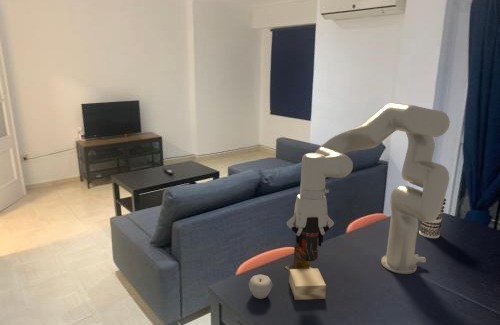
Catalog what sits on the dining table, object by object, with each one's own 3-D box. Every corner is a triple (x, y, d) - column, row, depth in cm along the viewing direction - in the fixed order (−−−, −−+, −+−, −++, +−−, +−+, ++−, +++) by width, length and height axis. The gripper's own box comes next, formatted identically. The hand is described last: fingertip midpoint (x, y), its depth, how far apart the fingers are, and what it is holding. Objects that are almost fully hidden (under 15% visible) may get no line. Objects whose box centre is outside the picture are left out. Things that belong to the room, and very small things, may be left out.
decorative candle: (415, 228, 167) (422, 178, 161) (436, 230, 166) (444, 179, 159) (421, 237, 158) (429, 184, 152) (443, 239, 157) (452, 185, 151)
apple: (248, 287, 121) (248, 270, 119) (271, 288, 121) (272, 271, 119) (247, 303, 113) (248, 285, 112) (272, 303, 113) (273, 285, 111)
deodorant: (318, 261, 114) (321, 218, 110) (300, 261, 114) (302, 218, 110) (315, 252, 120) (318, 211, 116) (298, 251, 120) (300, 210, 116)
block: (317, 280, 126) (317, 268, 124) (324, 298, 116) (326, 285, 115) (289, 281, 125) (289, 269, 123) (294, 299, 115) (295, 286, 114)
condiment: (314, 270, 132) (316, 241, 129) (297, 277, 128) (298, 247, 125) (301, 261, 138) (303, 233, 135) (284, 267, 134) (285, 239, 130)
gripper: (335, 188, 115) (331, 238, 120) (283, 189, 114) (281, 239, 119) (342, 196, 108) (338, 249, 113) (287, 197, 107) (284, 251, 112)
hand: (308, 244), depth 116 cm, fingers closed on deodorant, 5 cm apart
